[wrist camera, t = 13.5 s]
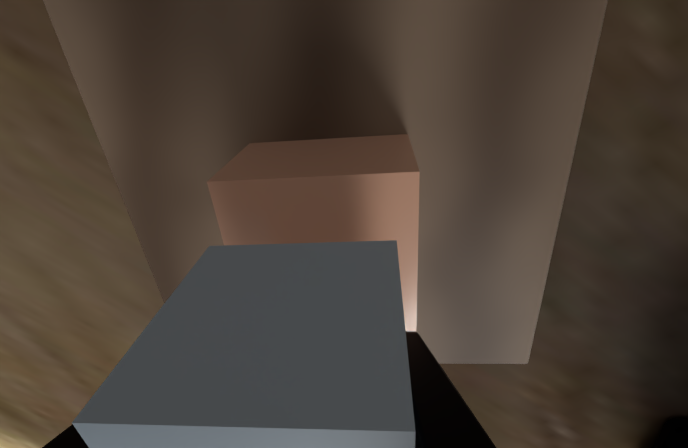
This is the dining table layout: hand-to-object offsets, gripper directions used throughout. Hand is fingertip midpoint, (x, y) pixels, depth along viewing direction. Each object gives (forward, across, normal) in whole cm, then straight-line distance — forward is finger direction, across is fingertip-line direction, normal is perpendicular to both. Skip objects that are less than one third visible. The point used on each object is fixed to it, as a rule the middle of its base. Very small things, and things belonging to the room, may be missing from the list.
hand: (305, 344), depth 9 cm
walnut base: (+9, 0, 0) cm, 9 cm away
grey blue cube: (+1, 0, 0) cm, 1 cm away
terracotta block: (+7, 0, 0) cm, 7 cm away
